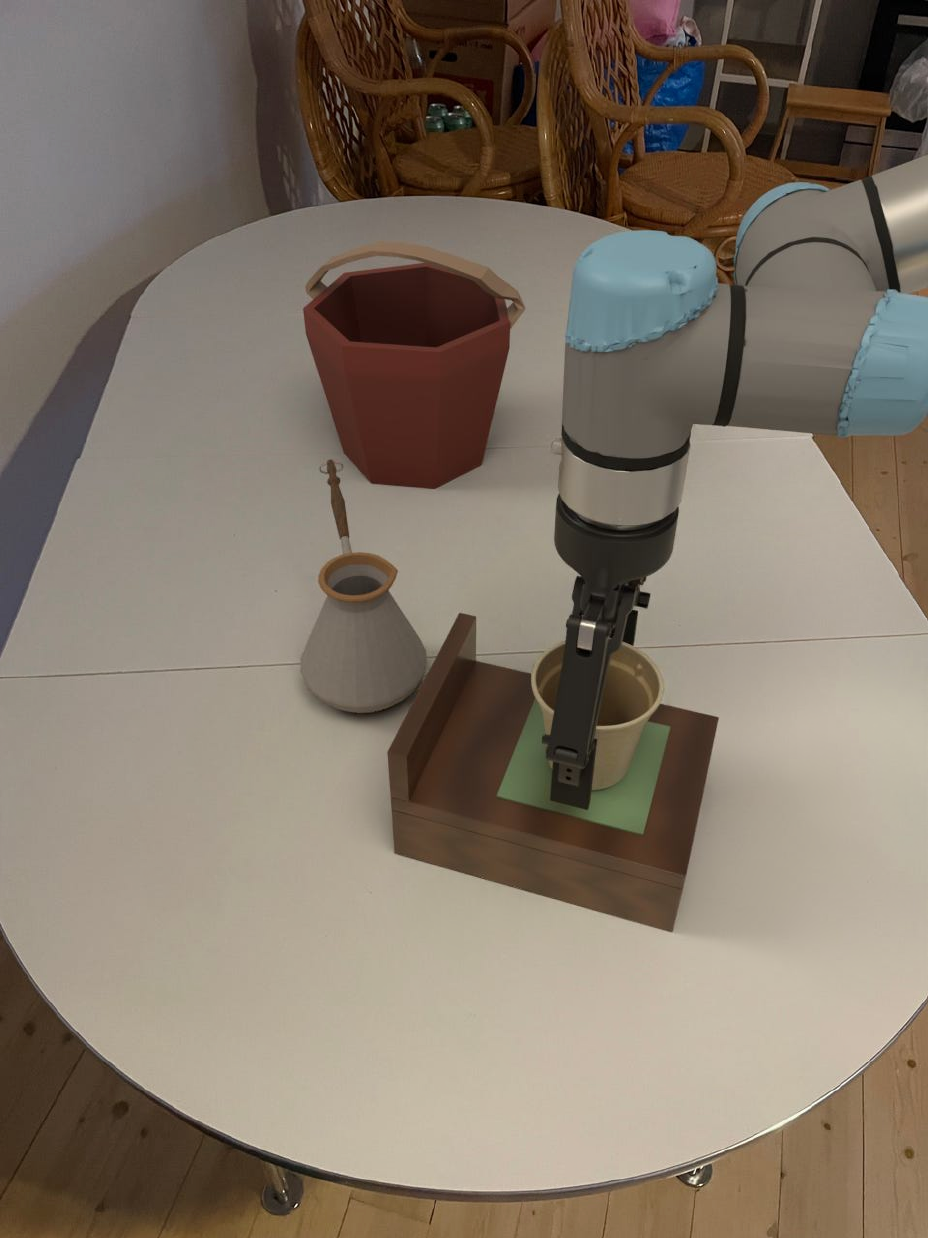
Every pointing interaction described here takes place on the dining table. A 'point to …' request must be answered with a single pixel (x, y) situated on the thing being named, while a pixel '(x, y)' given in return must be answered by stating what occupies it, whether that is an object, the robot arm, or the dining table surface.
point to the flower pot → (607, 706)
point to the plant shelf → (542, 793)
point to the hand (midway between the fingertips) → (592, 733)
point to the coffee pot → (360, 629)
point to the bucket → (411, 360)
